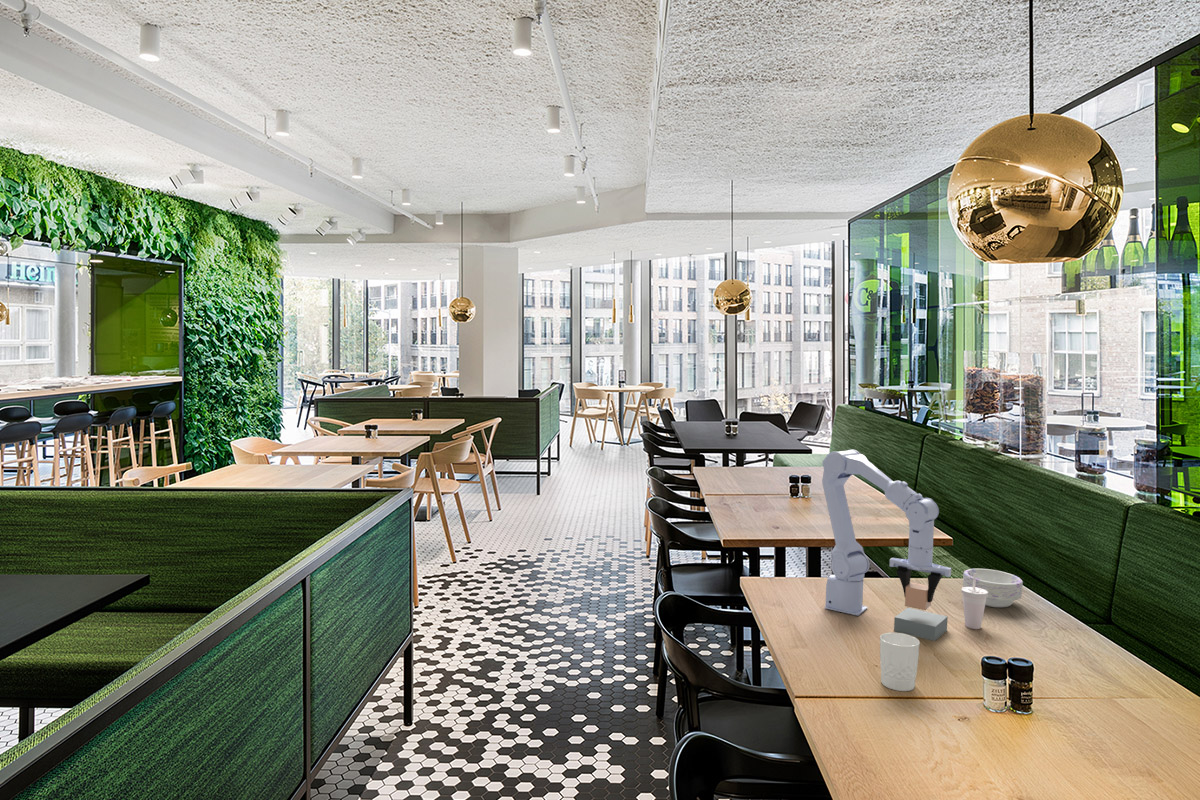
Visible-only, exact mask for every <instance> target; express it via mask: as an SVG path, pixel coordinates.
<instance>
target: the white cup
mask: <svg viewBox="0 0 1200 800" xmlns="http://www.w3.org/2000/svg"><path fill="white" fill-rule="evenodd" d="M920 642H921V641H920V640H919V638H918V637H916V636H912V635H908V634H904V633H900V632H885V633H882V634H880V635H879V646H880V647H879V650H880V652H879V657H880V658H879V660H880V661H879V662H880V665H879V666H880V682H881V684H882V686H884V687H886V688H887V689H890V690H893V691H898V692H910V691H913V690H914V689H915V688H916V680H917V679H916V678H917V672H918V666H919V665H918V664H919V653H920Z"/></svg>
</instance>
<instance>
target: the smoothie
mask: <svg viewBox="0 0 1200 800" xmlns="http://www.w3.org/2000/svg"><path fill="white" fill-rule="evenodd" d="M975 581H976V573H973V587H963V586H962V587H961V590H960V593H961V594H962V604H963V617H964V626H965V627H966V628H968V629H973V630H979V629H981V628H982V623H983V619H984V618H983V617H984V613H985V608H986V606H985V603H986V598H987V597H988V591H986V590H984V589H982V588H977V587H975Z"/></svg>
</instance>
